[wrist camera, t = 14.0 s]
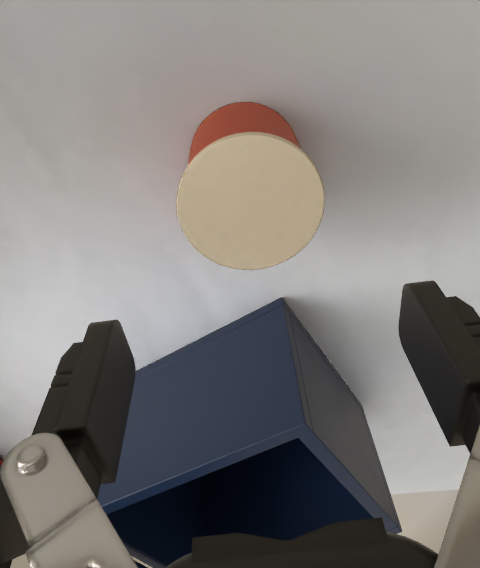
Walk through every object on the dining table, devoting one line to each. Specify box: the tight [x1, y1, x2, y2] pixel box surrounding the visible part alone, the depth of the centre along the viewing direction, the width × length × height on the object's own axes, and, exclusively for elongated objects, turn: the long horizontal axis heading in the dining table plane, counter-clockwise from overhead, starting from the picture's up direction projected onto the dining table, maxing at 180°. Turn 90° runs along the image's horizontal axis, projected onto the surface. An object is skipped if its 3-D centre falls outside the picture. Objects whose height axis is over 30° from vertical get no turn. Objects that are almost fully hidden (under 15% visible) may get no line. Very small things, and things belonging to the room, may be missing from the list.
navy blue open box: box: [97, 298, 402, 568], centre depth 29 cm, size 15×13×9 cm
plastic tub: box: [177, 102, 324, 270], centre depth 20 cm, size 6×6×6 cm
